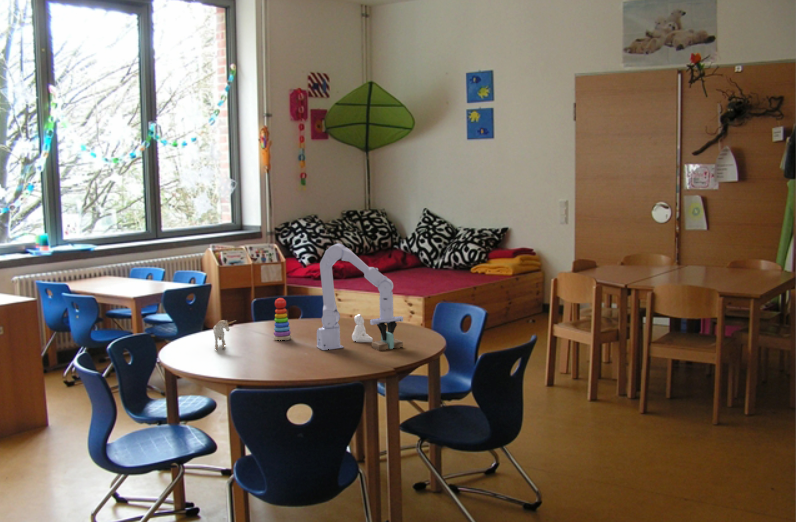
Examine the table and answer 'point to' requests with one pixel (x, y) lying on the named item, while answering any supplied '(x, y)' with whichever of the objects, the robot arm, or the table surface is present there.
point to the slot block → (383, 346)
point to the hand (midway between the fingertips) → (387, 339)
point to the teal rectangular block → (389, 340)
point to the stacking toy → (281, 321)
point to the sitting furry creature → (360, 331)
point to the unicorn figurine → (221, 331)
